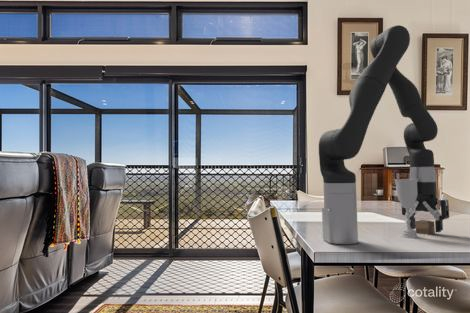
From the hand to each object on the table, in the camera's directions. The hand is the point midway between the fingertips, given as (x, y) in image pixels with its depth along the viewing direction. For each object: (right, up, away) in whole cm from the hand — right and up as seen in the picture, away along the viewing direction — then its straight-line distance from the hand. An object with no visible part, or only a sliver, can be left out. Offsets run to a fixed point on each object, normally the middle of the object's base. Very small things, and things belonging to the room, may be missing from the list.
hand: (425, 230), depth 102 cm
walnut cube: (0, -1, 0) cm, 1 cm away
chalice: (-8, -1, -5) cm, 10 cm away
